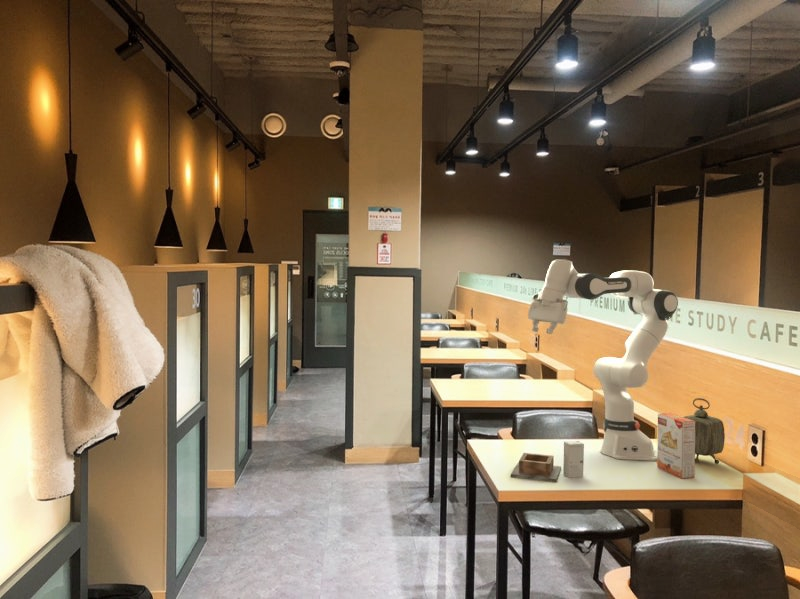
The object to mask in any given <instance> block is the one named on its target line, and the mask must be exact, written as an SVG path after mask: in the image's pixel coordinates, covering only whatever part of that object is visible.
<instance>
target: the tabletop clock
mask: <svg viewBox="0 0 800 599" xmlns="http://www.w3.org/2000/svg"><path fill="white" fill-rule="evenodd" d="M699 400H700V401H703V402H705V403H707V405H708V406H706V407H703V405H701V404H700V405H699V406H698V405H696V404H695V402H696V401H699ZM692 404H693V406H694V407H695V408H697V409H696V410H695V411H694V412H693V414H691V415H685V416H683V417H684V418H687V419H690V420H693V421H695V455H696V456H695V464H696V463H697V464H698V463H699V462H700V459H699V456H704V457H708V456H710V457H712V459H713V460H714V463H715V464H716V465H718V464H719V463H720V460H719V459H716V456H715V455H717V454H721V453H723V450H724V447H725V441H726V440H725V439H726V437H725V436H726V435H725V426H724V422H723V420H722V419H720V418H719V417H718V418H717V417H715V416H714V417H713V416H711V415H709V414H708V412H707V411H706V410H708V409H709V408H710V407H711V404H710V401H708V400H707V399H705V398H703V397H702V398H701V397H697V398H694V400H692Z"/></svg>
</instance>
